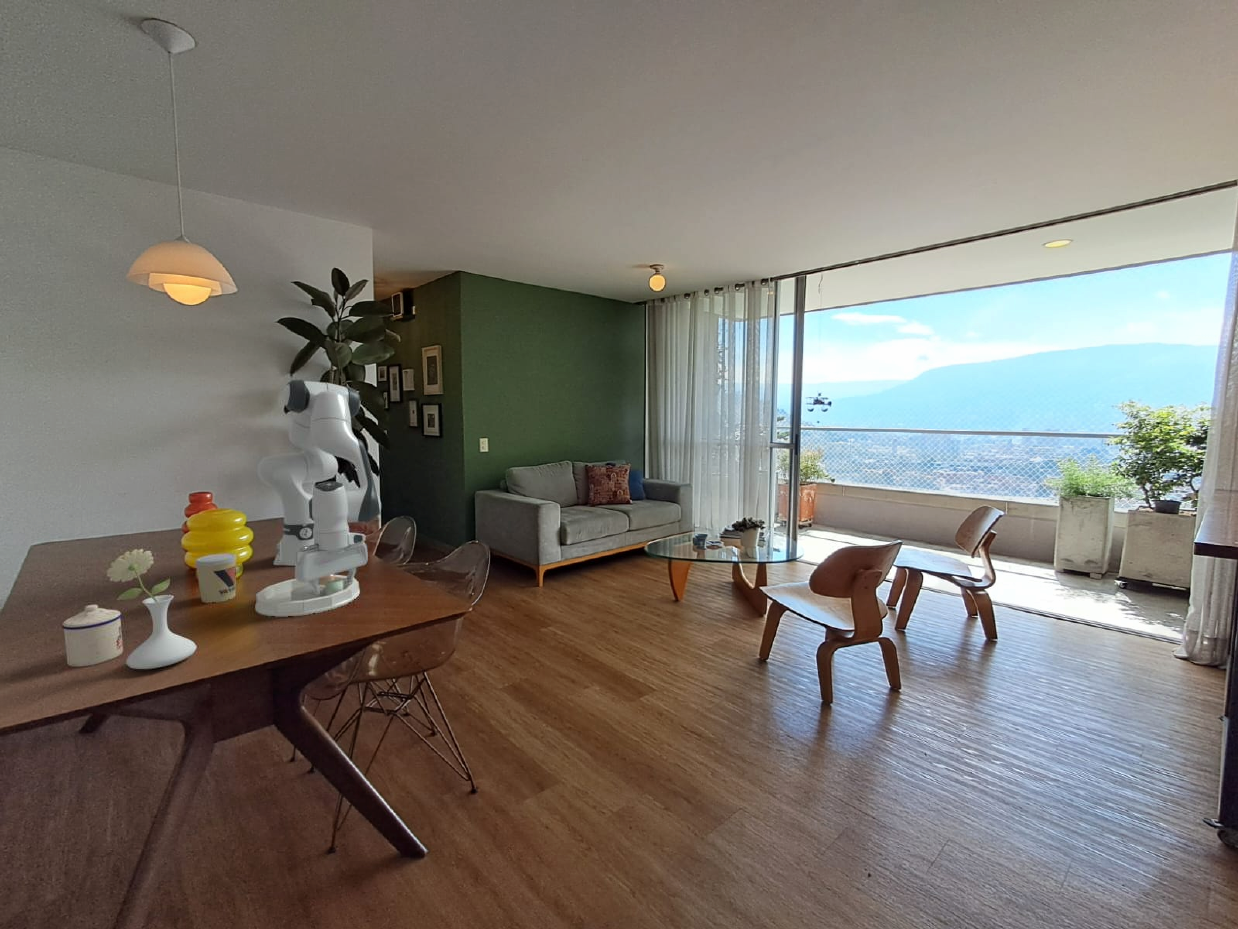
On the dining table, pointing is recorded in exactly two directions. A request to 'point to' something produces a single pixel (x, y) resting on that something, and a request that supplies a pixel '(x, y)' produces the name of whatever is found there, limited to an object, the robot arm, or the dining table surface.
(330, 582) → the sage bead
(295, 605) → the groove tray
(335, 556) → the robot arm
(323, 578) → the terracotta bead
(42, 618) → the dining table surface
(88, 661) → the teacup with lid
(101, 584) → the dining table surface
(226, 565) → the coffee cup
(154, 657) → the flower in vase
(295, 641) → the dining table surface
